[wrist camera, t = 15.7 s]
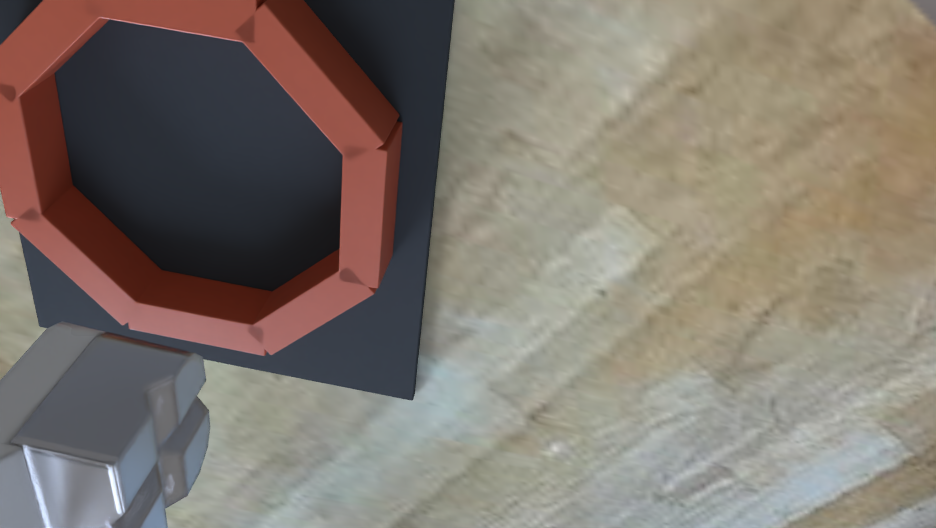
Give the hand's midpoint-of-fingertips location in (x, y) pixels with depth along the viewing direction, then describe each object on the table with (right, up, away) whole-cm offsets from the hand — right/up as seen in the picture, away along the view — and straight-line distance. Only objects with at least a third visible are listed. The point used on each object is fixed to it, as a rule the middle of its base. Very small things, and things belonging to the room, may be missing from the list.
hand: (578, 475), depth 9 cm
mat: (-11, +7, +26) cm, 29 cm away
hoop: (-11, +9, +24) cm, 28 cm away
